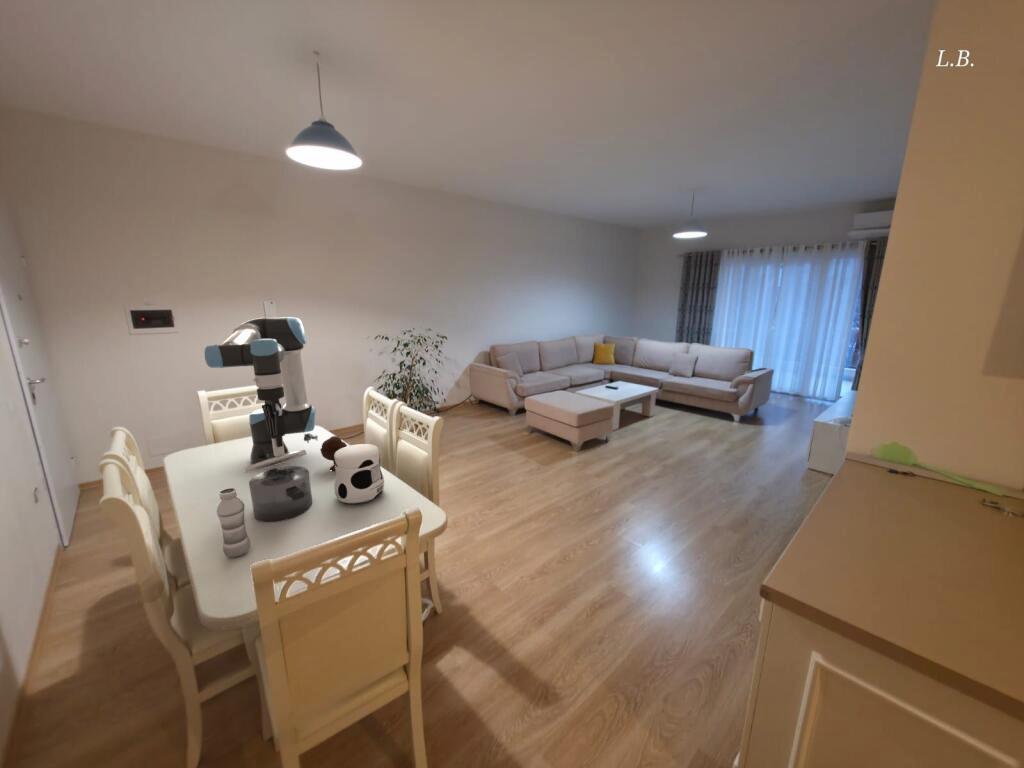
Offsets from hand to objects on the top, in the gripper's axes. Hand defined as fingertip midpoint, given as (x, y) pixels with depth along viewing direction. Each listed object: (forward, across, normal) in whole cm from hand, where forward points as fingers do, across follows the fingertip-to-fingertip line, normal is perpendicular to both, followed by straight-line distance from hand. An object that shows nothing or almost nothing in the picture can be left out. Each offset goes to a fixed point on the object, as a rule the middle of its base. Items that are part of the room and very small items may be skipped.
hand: (279, 454), depth 136 cm
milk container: (+21, +9, +22) cm, 32 cm away
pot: (+21, -1, 0) cm, 21 cm away
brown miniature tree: (+20, -22, +28) cm, 41 cm away
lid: (+4, -5, 0) cm, 6 cm away
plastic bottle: (+22, +13, -19) cm, 32 cm away
